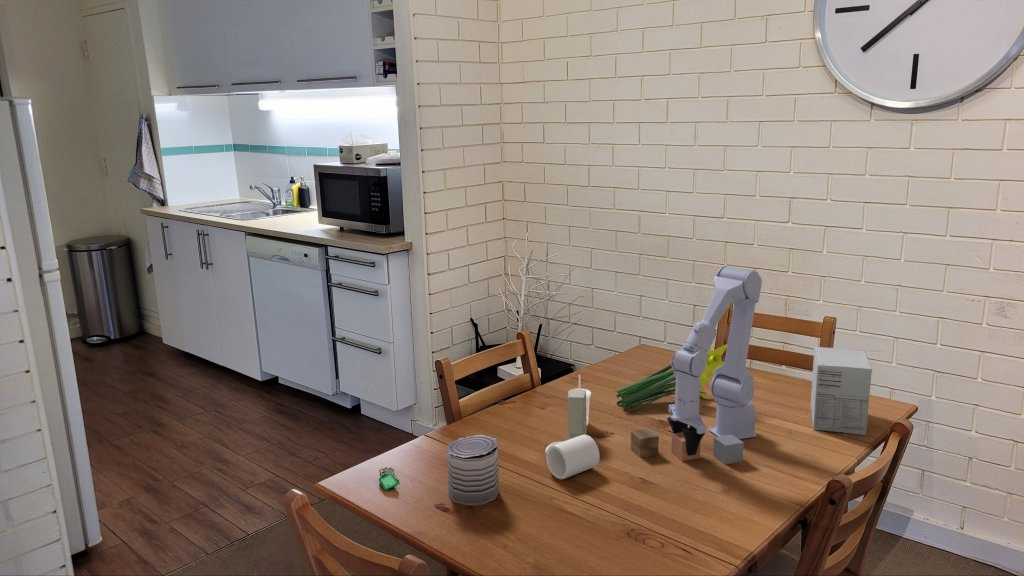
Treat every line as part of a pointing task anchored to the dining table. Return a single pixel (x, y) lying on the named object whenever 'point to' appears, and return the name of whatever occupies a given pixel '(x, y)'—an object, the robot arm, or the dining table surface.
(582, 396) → the skincare box
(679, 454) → the terracotta block
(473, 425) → the dining table surface
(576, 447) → the mug
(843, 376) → the supplement box
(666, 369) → the daffodil flowers
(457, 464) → the can
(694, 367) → the robot arm
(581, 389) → the beverage cup
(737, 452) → the slate grey block
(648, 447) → the walnut block
